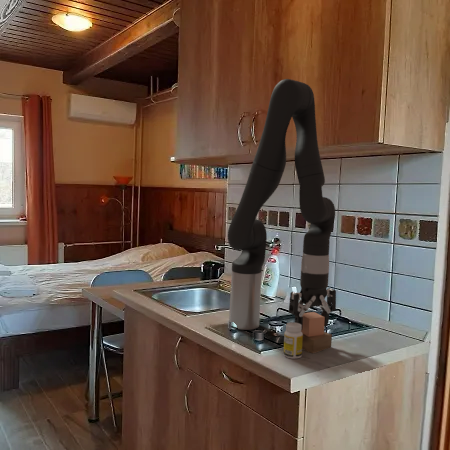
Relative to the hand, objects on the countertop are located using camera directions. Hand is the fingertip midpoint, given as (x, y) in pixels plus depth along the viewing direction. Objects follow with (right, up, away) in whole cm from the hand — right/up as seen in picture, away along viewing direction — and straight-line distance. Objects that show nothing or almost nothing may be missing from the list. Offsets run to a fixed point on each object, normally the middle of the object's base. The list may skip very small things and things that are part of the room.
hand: (311, 327), depth 129 cm
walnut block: (0, -6, +1) cm, 6 cm away
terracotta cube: (0, -2, 0) cm, 2 cm away
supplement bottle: (-6, -6, -7) cm, 11 cm away
